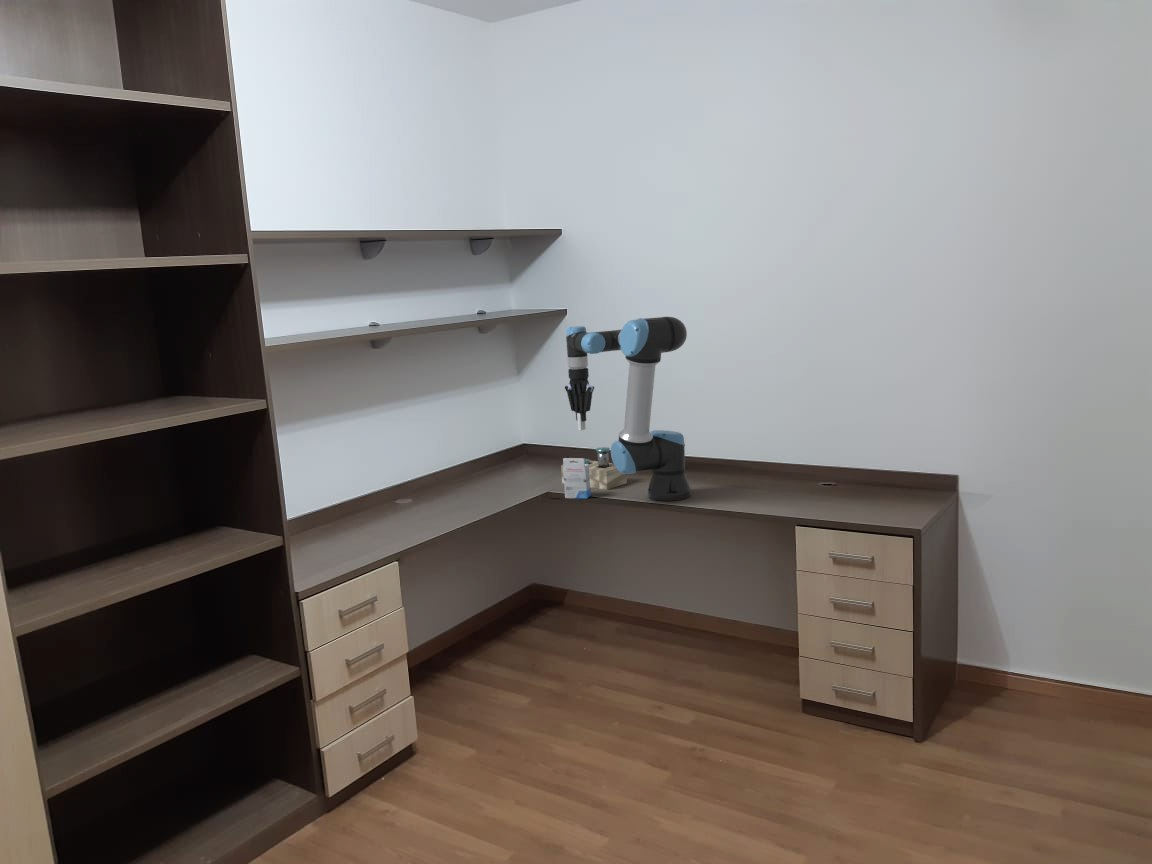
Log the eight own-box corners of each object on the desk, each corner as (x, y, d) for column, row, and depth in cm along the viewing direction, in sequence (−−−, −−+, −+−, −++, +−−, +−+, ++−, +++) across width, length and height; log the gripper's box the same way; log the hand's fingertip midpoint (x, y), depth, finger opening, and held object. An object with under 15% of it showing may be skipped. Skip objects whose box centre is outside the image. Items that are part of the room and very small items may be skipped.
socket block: (626, 483, 343) (626, 464, 341) (607, 489, 334) (606, 471, 332) (582, 476, 357) (581, 459, 356) (562, 483, 348) (561, 465, 347)
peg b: (613, 468, 341) (612, 448, 340) (604, 471, 337) (603, 450, 336) (602, 467, 345) (601, 446, 343) (594, 469, 341) (593, 449, 339)
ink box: (591, 495, 327) (589, 455, 324) (587, 499, 322) (585, 458, 320) (569, 494, 330) (566, 455, 327) (564, 498, 325) (562, 458, 322)
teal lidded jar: (593, 479, 349) (592, 459, 347) (584, 482, 345) (583, 462, 343) (583, 477, 352) (582, 458, 351) (574, 480, 348) (573, 460, 347)
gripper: (597, 367, 339) (601, 429, 343) (571, 366, 348) (575, 427, 352) (585, 369, 334) (588, 432, 338) (558, 368, 342) (562, 430, 346)
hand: (581, 429), depth 345 cm, fingers closed
